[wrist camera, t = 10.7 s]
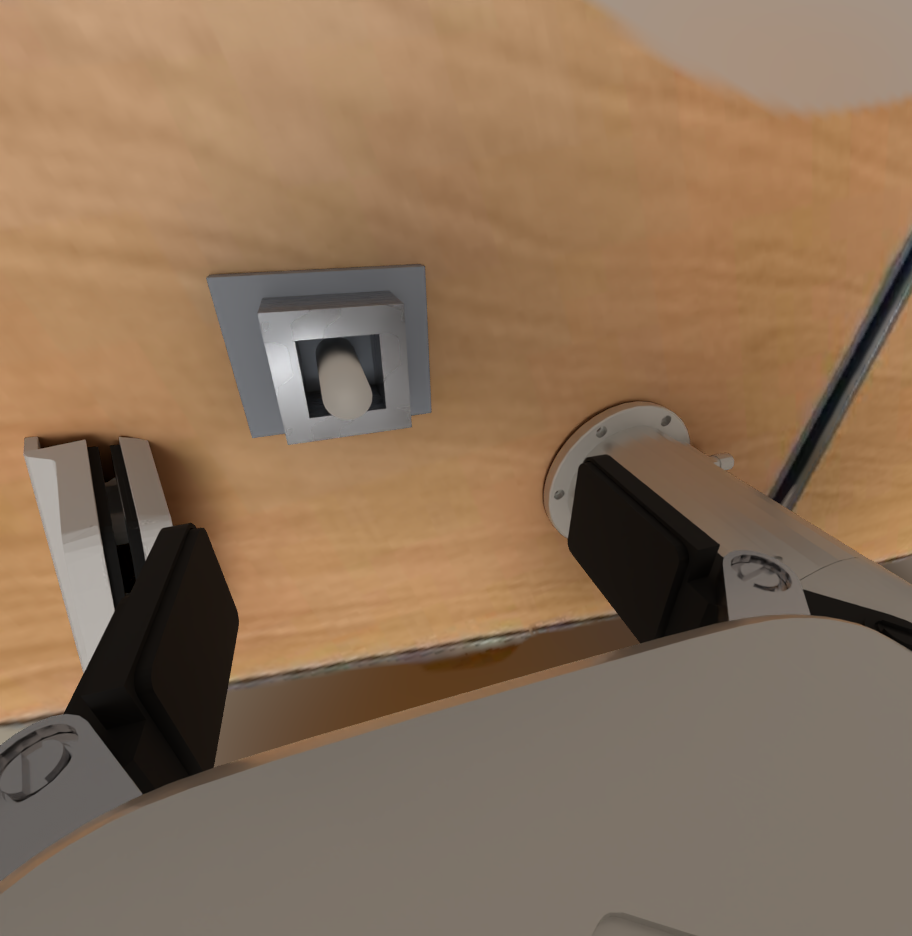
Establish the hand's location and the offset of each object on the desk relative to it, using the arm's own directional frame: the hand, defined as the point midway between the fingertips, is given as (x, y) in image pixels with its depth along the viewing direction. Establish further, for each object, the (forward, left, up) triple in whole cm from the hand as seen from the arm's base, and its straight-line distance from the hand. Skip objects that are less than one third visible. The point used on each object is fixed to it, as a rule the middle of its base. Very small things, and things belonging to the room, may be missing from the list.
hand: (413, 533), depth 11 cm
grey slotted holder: (+14, +11, -16) cm, 24 cm away
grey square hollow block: (+1, 0, -15) cm, 15 cm away
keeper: (+1, 0, -16) cm, 16 cm away
